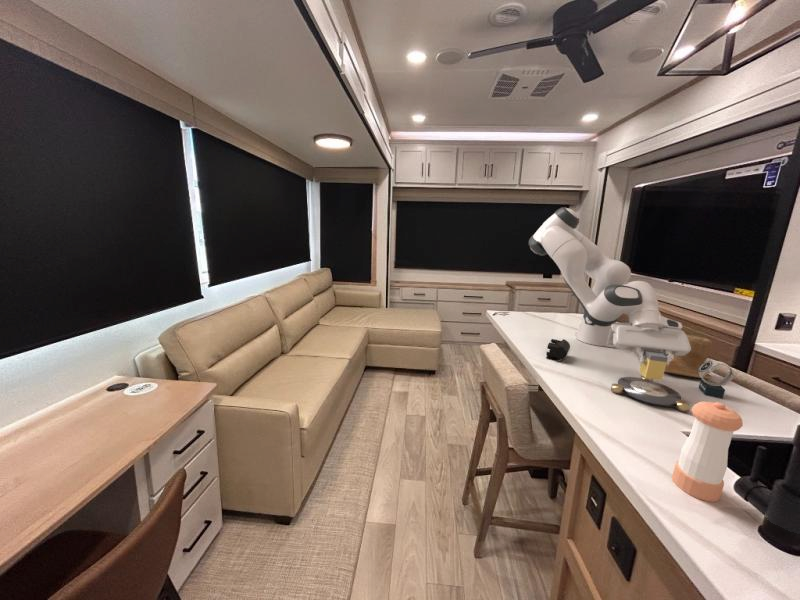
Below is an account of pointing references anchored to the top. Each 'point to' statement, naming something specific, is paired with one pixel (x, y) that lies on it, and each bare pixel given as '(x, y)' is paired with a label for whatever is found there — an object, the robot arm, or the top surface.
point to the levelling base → (650, 392)
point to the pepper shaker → (706, 451)
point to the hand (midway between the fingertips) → (654, 363)
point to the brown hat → (691, 358)
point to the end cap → (557, 350)
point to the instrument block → (653, 365)
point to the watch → (713, 387)
